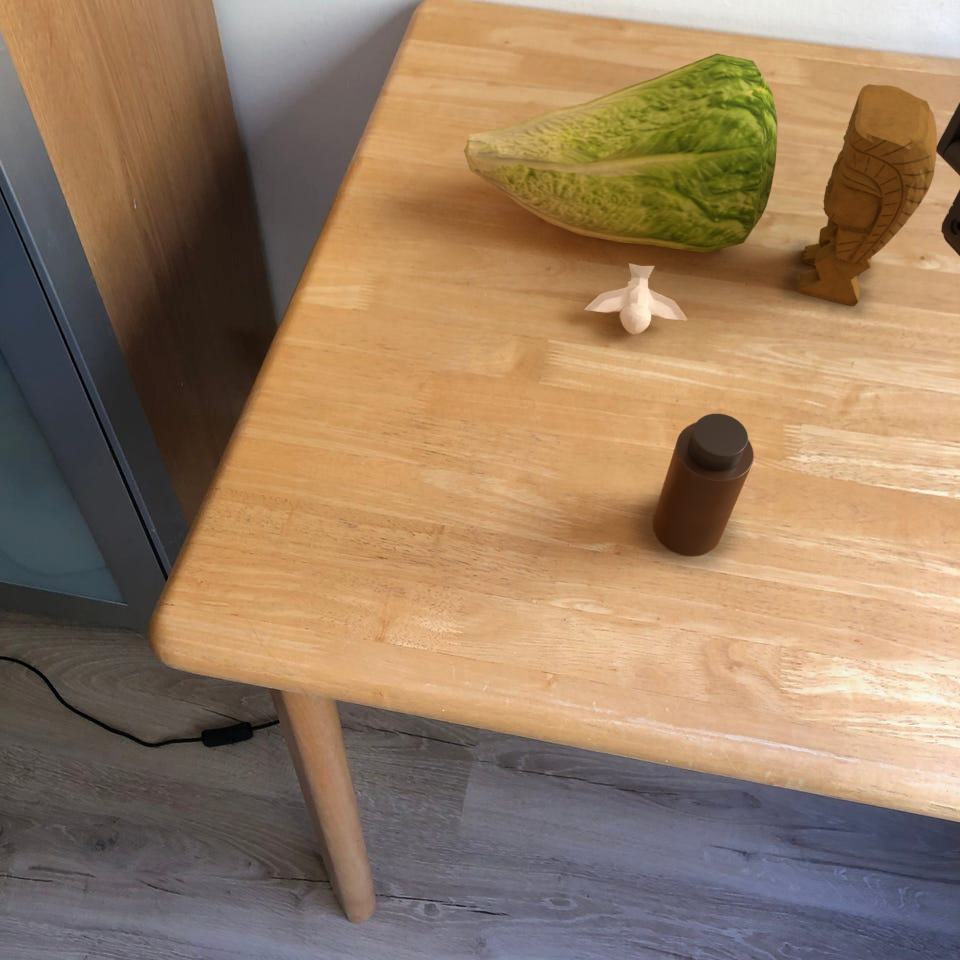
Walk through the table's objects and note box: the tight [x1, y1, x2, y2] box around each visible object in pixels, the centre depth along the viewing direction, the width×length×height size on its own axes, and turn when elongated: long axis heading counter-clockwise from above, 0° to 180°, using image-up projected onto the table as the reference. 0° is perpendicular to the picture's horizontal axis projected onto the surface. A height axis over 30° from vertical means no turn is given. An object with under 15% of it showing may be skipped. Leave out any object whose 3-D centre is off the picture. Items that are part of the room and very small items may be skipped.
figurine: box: [796, 83, 938, 307], centre depth 73 cm, size 7×7×15 cm
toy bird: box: [583, 262, 688, 335], centre depth 74 cm, size 8×5×5 cm, turn 83°
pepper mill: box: [652, 413, 755, 557], centre depth 60 cm, size 5×5×10 cm
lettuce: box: [463, 53, 778, 253], centre depth 78 cm, size 14×24×15 cm
